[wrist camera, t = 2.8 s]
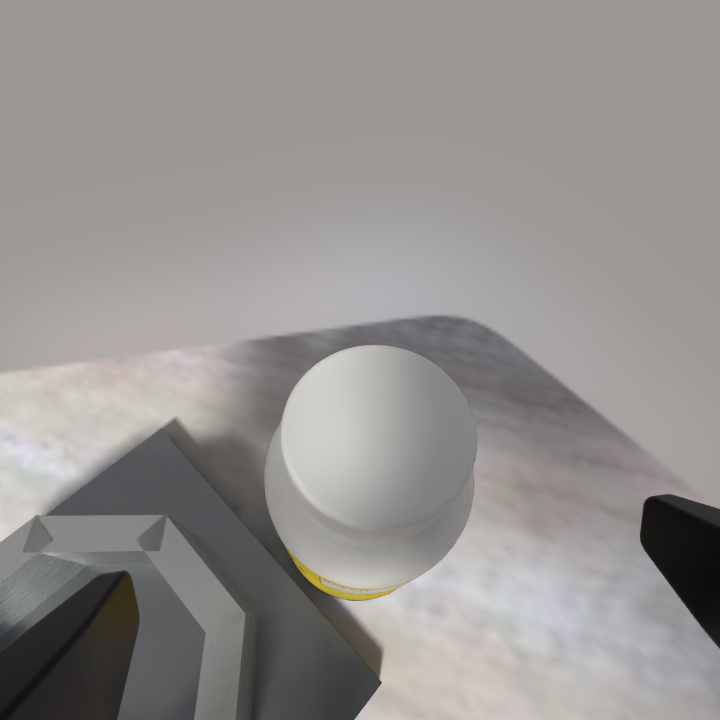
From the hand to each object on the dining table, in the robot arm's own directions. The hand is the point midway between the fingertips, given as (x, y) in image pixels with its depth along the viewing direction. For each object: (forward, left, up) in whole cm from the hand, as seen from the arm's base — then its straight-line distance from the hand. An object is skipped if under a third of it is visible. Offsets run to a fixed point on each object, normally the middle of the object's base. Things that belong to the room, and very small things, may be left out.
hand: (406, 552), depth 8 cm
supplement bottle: (+2, +2, -10) cm, 10 cm away
